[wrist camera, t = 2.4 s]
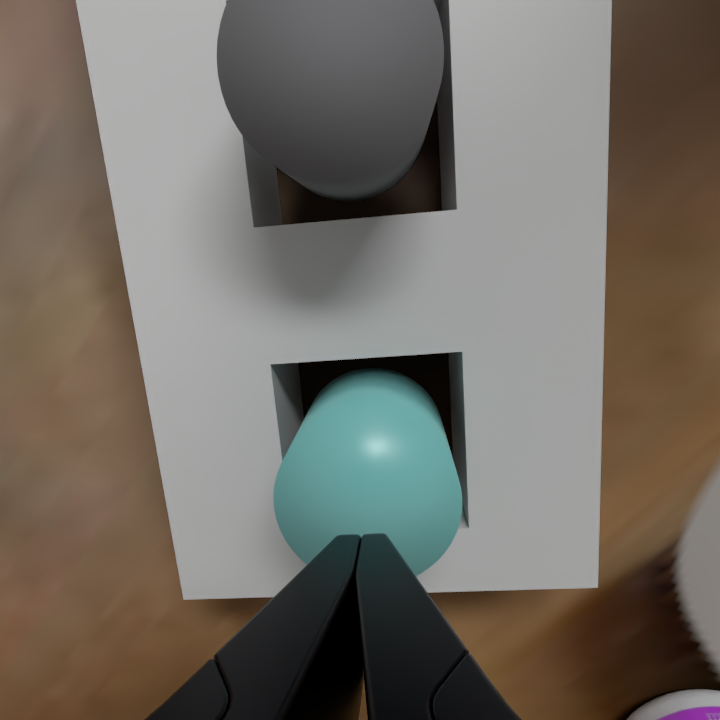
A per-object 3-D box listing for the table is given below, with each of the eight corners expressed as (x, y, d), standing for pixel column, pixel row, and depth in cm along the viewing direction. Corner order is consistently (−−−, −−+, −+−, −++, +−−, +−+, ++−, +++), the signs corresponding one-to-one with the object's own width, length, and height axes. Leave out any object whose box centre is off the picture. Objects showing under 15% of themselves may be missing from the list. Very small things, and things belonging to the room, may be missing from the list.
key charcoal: (423, 21, 12) (439, -89, 8) (431, 194, 13) (449, 170, 9) (261, 40, 12) (200, -57, 8) (280, 208, 13) (232, 190, 9)
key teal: (439, 363, 14) (459, 408, 10) (446, 495, 15) (466, 584, 11) (298, 372, 14) (262, 419, 10) (312, 500, 15) (284, 589, 11)
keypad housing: (560, -470, 12) (630, -762, 8) (557, 520, 17) (597, 587, 14) (80, -378, 13) (-33, -607, 9) (222, 534, 18) (183, 599, 15)
